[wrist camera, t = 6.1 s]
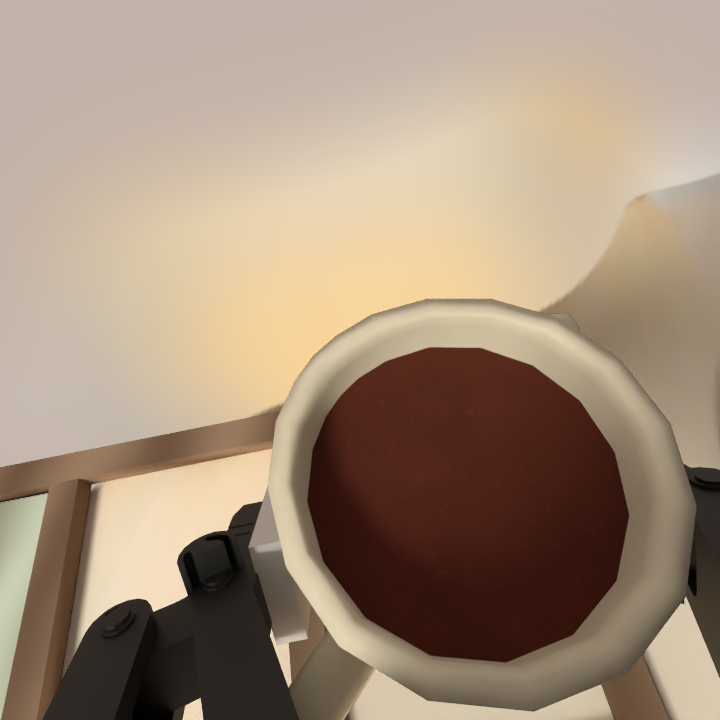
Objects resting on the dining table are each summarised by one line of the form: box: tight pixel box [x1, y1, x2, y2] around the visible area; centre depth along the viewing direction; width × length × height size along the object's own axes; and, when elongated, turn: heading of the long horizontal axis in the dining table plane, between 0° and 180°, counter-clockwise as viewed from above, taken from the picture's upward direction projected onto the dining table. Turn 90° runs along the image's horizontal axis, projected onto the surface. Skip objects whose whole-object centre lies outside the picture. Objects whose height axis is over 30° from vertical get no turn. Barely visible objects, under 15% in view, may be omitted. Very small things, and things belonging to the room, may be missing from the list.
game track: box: [0, 412, 669, 720], centre depth 18 cm, size 34×16×1 cm, turn 100°
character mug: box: [268, 299, 697, 720], centre depth 13 cm, size 11×7×13 cm, turn 142°
